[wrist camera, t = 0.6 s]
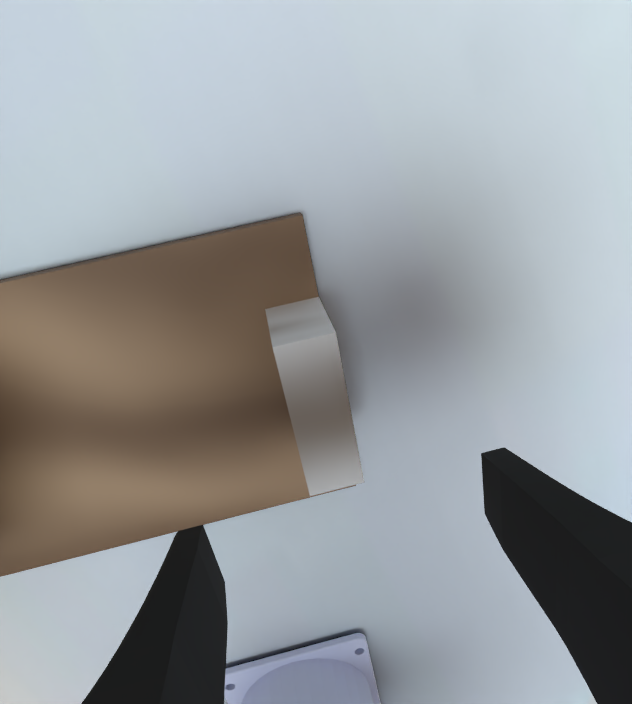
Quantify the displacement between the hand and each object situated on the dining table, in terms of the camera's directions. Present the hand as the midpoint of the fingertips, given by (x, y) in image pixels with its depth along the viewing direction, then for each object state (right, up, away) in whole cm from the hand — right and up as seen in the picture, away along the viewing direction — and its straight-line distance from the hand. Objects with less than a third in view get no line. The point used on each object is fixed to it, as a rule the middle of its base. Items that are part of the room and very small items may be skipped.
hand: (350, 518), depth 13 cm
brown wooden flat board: (-11, +1, +7) cm, 13 cm away
